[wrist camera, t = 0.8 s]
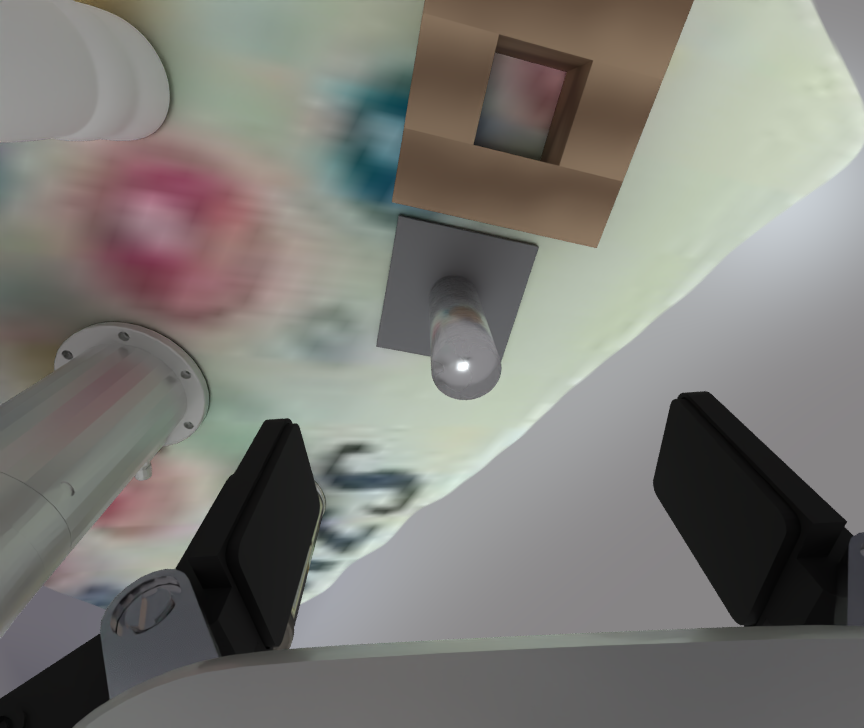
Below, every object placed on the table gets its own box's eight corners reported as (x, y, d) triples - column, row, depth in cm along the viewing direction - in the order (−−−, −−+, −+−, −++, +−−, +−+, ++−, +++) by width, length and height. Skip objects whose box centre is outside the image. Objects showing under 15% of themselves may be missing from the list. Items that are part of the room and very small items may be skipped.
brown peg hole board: (573, 233, 33) (596, 248, 29) (396, 192, 32) (391, 201, 27) (654, 9, 27) (699, -15, 23) (437, -56, 25) (440, -95, 21)
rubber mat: (497, 365, 39) (498, 368, 38) (376, 343, 38) (376, 346, 37) (536, 245, 34) (538, 247, 33) (399, 214, 33) (398, 216, 32)
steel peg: (470, 326, 36) (490, 405, 26) (424, 317, 36) (425, 393, 25) (483, 281, 35) (510, 346, 24) (434, 270, 34) (440, 332, 23)
